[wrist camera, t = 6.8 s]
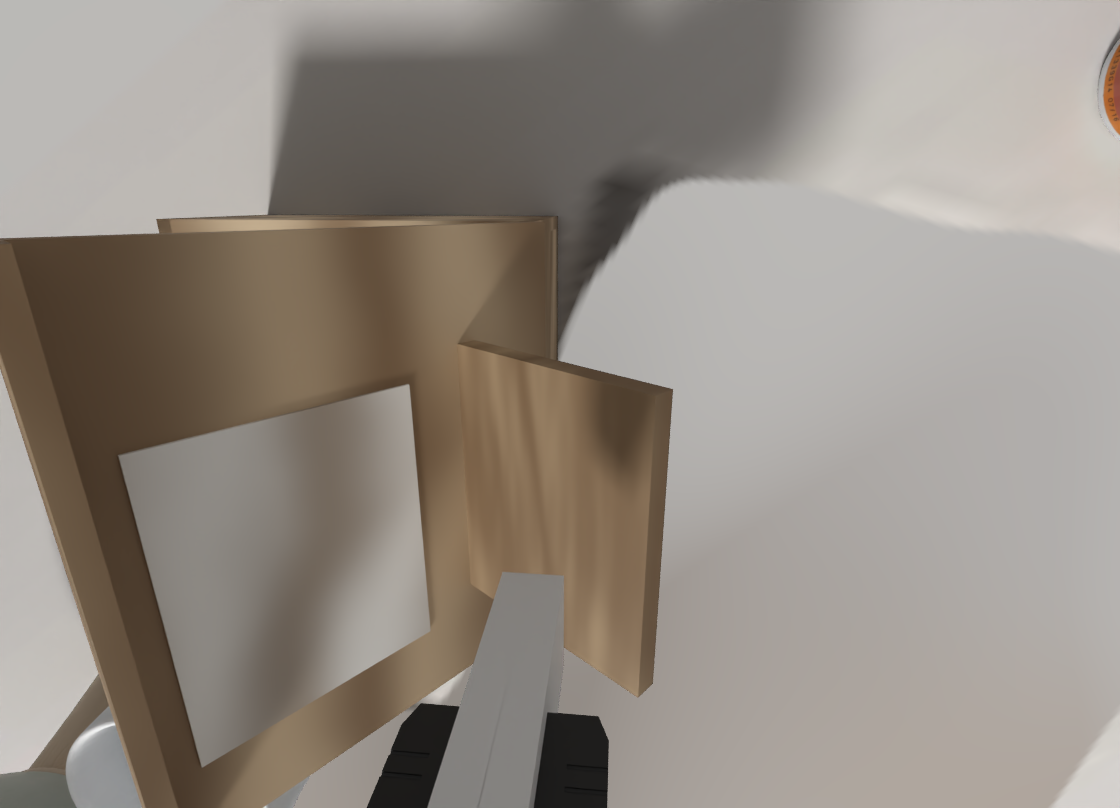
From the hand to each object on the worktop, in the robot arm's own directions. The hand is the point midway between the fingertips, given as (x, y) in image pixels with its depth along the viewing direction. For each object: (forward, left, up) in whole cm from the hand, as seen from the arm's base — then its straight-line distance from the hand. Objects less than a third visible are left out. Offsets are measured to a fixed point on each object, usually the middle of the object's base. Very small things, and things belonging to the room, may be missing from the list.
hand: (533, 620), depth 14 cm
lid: (-7, 0, -5) cm, 9 cm away
